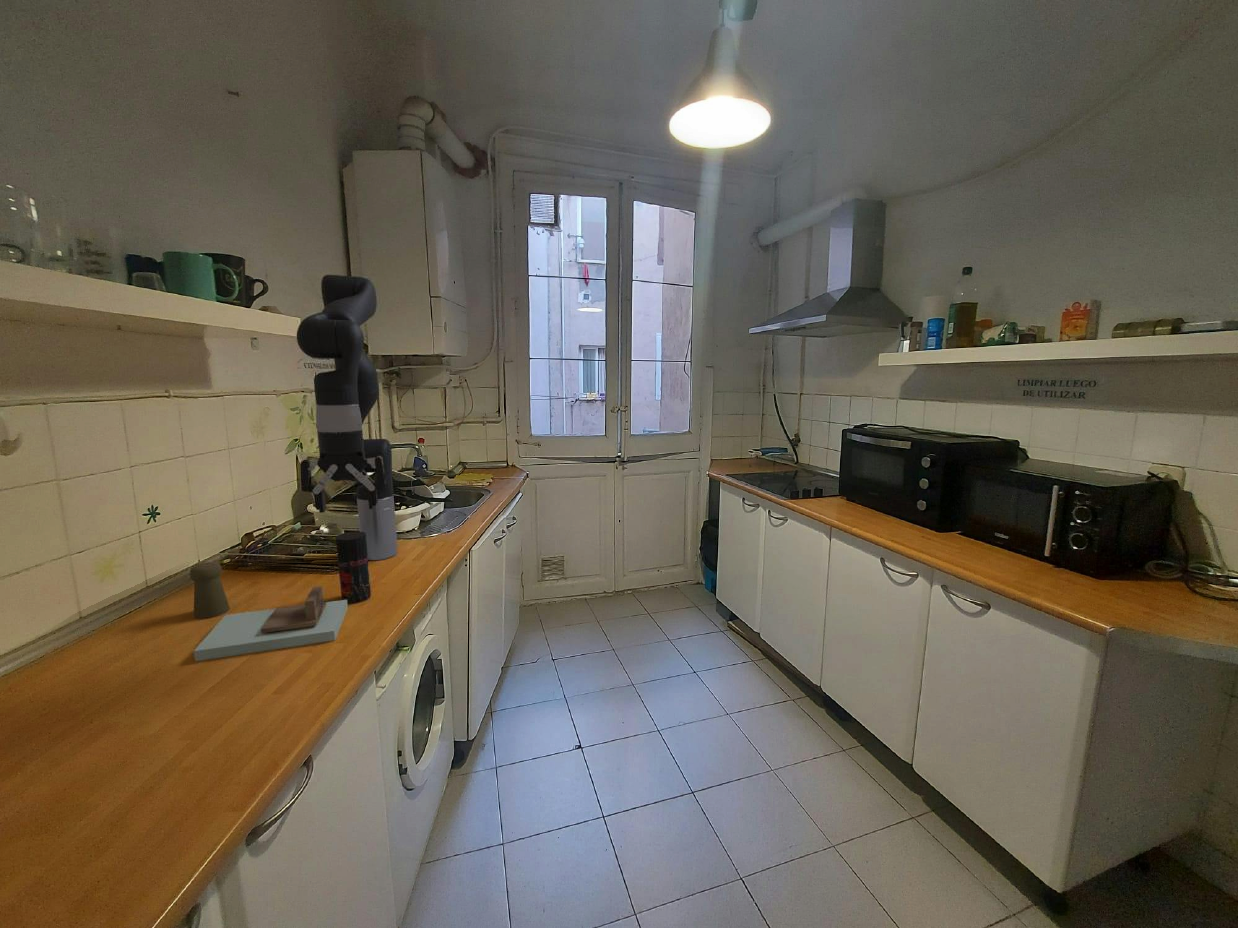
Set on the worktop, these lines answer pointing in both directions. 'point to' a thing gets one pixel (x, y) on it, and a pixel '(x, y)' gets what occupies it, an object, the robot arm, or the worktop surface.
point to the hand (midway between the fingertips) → (347, 509)
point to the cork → (208, 591)
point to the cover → (297, 614)
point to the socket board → (246, 636)
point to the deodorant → (353, 567)
